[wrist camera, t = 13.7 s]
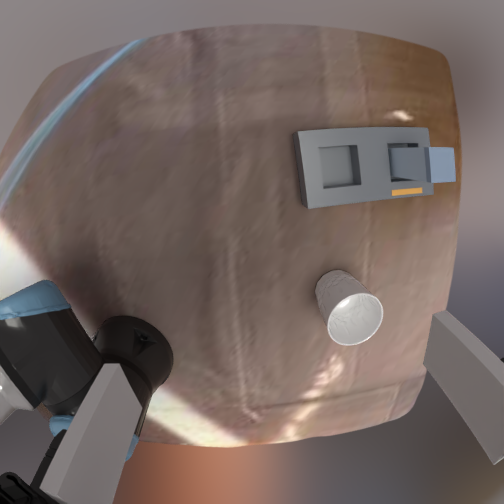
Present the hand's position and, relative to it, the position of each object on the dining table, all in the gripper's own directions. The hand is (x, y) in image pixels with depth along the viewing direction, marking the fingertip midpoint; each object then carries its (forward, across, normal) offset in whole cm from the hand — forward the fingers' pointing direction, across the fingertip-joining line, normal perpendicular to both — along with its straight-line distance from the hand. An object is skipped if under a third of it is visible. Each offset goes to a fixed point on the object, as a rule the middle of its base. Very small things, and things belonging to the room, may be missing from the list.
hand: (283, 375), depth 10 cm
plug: (+31, +22, +6) cm, 38 cm away
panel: (+32, +17, +6) cm, 36 cm away
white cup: (+32, +11, -13) cm, 36 cm away
